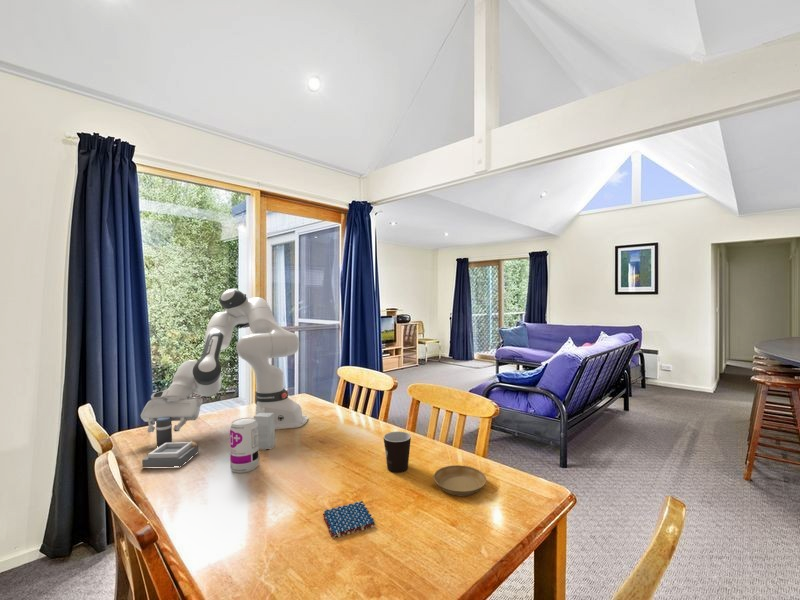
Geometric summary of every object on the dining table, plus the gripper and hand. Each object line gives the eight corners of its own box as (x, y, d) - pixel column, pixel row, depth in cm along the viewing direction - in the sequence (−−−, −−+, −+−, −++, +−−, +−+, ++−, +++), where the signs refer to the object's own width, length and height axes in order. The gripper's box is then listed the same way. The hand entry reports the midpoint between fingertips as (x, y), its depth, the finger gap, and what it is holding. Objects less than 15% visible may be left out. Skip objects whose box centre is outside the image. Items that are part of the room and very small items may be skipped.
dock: (198, 453, 131) (197, 440, 130) (180, 467, 120) (180, 454, 119) (163, 454, 130) (162, 441, 130) (142, 469, 119) (142, 455, 119)
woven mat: (321, 517, 92) (321, 509, 92) (362, 506, 97) (362, 499, 97) (331, 542, 83) (331, 533, 83) (376, 529, 87) (376, 521, 87)
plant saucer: (475, 506, 96) (475, 496, 96) (424, 491, 103) (424, 482, 103) (493, 481, 108) (493, 472, 108) (446, 469, 116) (446, 461, 116)
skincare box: (275, 445, 137) (274, 412, 136) (270, 450, 132) (269, 416, 132) (259, 444, 137) (258, 412, 137) (253, 449, 133) (253, 416, 133)
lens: (175, 443, 140) (174, 416, 140) (167, 448, 135) (166, 420, 135) (161, 443, 140) (161, 416, 140) (153, 449, 135) (152, 420, 135)
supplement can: (239, 476, 113) (238, 427, 113) (225, 469, 118) (224, 422, 118) (263, 466, 119) (262, 420, 119) (249, 460, 124) (248, 415, 124)
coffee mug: (408, 476, 112) (408, 442, 111) (380, 473, 113) (380, 441, 113) (415, 459, 123) (414, 428, 123) (389, 457, 125) (389, 427, 125)
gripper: (207, 400, 149) (195, 434, 140) (155, 402, 149) (139, 435, 139) (201, 392, 145) (188, 426, 135) (147, 393, 144) (130, 428, 135)
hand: (163, 431), depth 137 cm, fingers open, 8 cm apart
